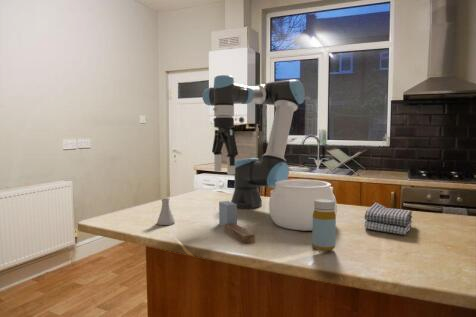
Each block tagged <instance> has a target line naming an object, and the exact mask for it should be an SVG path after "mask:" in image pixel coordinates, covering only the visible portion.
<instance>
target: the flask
mask: <svg viewBox="0 0 476 317" xmlns="http://www.w3.org/2000/svg"><path fill="white" fill-rule="evenodd" d="M160 201H161V209H160V212H159V216H158V219H157V222H156V225H157V226H158V225H159V226H170V225H174V224H175V222H176V221H175V218H174V216H173V214H172V211H171V208H170V198H169V197H164V198H161V200H160Z"/></svg>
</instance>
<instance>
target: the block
mask: <svg viewBox="0 0 476 317" xmlns="http://www.w3.org/2000/svg"><path fill="white" fill-rule="evenodd" d="M224 232H225V233H227V234H228V235H230V236H231V237H233V238H234V239H236V240H237V241H239V242H241V243H243V244H250V243H255V242H256V234H254V233H253V232H251V231H250V230H248V229H246V228H244V227H242V226H240V225H239V224H238V223H237V224H235V223H231V224H225V227H224Z"/></svg>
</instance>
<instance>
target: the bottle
mask: <svg viewBox="0 0 476 317" xmlns="http://www.w3.org/2000/svg"><path fill="white" fill-rule="evenodd" d="M334 207H335V201H334V200H332V199H315V200H314V212H313V226H312V232H311V233H312V235H311V236H312V237H311V239H312V240H311V241H312V244H311V245H312V247H313V248H314V249H315V250H317V251H323V252H324V251H325V252H326V251H332V250H334V249H335V247H336V226H337V225H336V224H337V217H336V216H337V214H336V215H335V212H334Z"/></svg>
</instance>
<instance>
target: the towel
mask: <svg viewBox="0 0 476 317" xmlns="http://www.w3.org/2000/svg"><path fill="white" fill-rule="evenodd" d="M412 213H413V211H412V210H409V209H399V208H392V207H391V208H389V207H387V206H384V205H382V204H381V203H378V202H374V203H373V204H372V206H370V207H369V208H368V209H367V210H366V211H365V214H364V220H365V221H364V228H365V229H368V230H372V231H377V232H384V233H390V234H394V235H395V234H396V235H407V233H408V232H409V231H410V230H411V226H412V223H413V221H412V218H413V216H412Z"/></svg>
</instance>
